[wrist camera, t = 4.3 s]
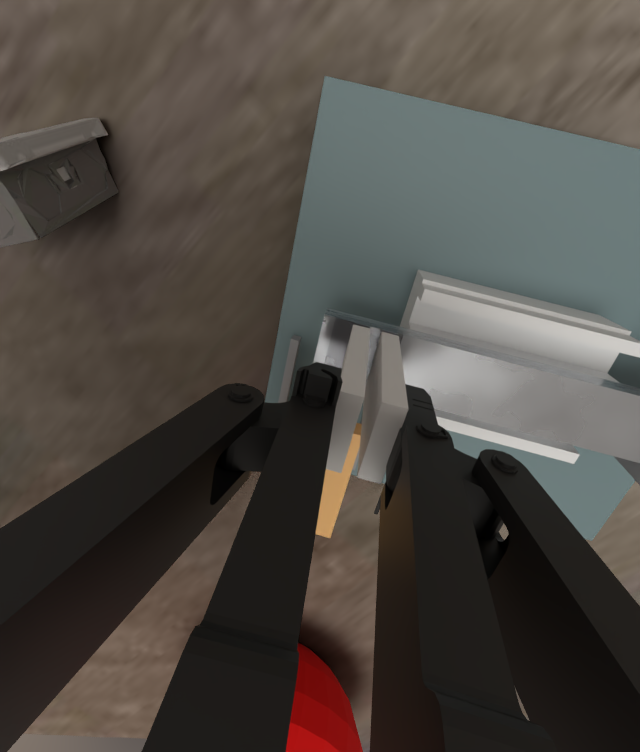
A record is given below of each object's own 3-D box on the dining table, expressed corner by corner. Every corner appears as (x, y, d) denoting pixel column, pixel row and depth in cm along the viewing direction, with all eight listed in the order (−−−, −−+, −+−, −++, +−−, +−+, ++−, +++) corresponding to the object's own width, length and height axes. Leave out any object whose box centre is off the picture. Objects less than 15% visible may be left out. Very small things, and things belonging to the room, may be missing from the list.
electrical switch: (108, 115, 22) (-46, 93, 14) (145, 212, 24) (31, 240, 16) (-24, 153, 24) (-225, 152, 16) (22, 240, 26) (-134, 276, 18)
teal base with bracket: (262, 436, 29) (215, 527, 21) (328, 84, 20) (291, 1, 12) (581, 524, 28) (662, 654, 20) (807, 196, 19) (1128, 191, 11)
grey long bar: (314, 366, 19) (310, 376, 18) (327, 307, 18) (324, 314, 17) (702, 468, 19) (722, 484, 17) (744, 415, 17) (769, 429, 16)
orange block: (287, 437, 27) (255, 517, 20) (306, 353, 24) (276, 412, 18) (343, 452, 27) (330, 538, 20) (368, 370, 24) (362, 436, 17)
